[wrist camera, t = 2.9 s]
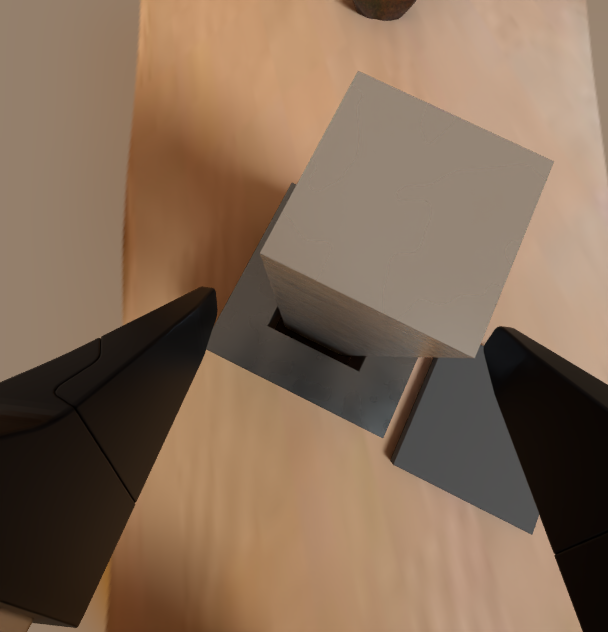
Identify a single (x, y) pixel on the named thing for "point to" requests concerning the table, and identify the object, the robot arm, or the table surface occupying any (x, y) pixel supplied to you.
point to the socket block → (304, 354)
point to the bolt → (383, 8)
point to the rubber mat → (466, 442)
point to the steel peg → (401, 228)
